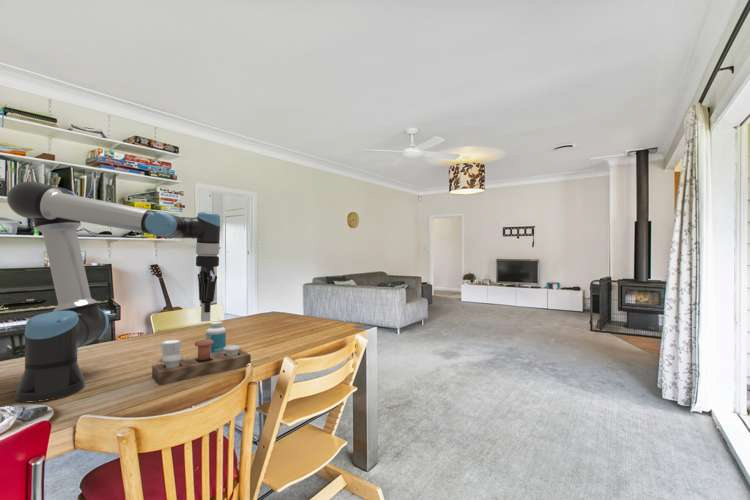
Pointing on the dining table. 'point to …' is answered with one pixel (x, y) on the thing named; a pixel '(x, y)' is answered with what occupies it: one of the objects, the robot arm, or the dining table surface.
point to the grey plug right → (232, 350)
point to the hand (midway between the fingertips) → (205, 321)
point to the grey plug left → (172, 361)
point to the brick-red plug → (204, 349)
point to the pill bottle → (216, 337)
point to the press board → (199, 367)
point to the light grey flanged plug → (170, 347)
